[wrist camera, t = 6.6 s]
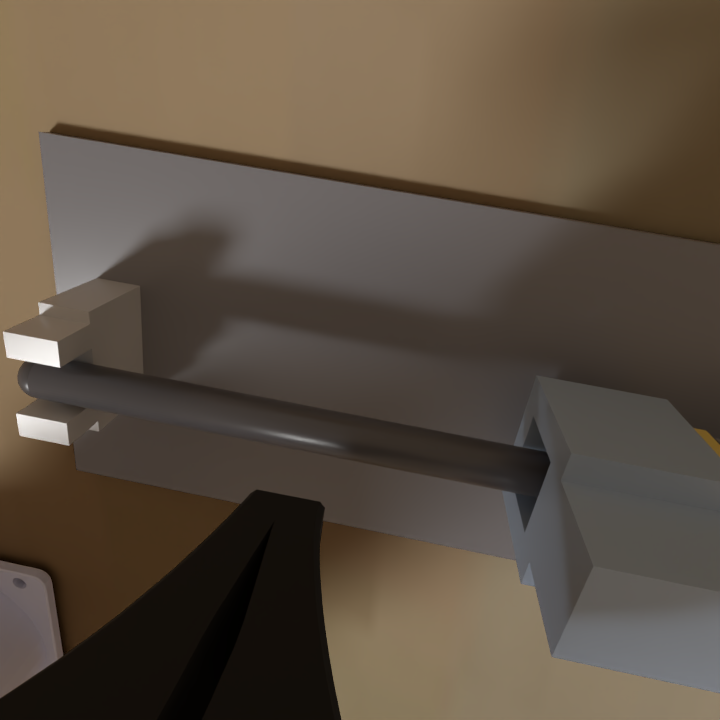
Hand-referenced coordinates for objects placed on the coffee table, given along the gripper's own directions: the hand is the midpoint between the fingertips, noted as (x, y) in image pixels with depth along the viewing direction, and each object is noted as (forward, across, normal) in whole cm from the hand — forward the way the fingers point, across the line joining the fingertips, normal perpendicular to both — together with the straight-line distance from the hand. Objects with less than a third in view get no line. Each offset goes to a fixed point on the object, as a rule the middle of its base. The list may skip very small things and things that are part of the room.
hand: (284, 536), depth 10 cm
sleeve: (+4, -6, -1) cm, 7 cm away
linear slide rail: (+5, -3, -1) cm, 6 cm away
